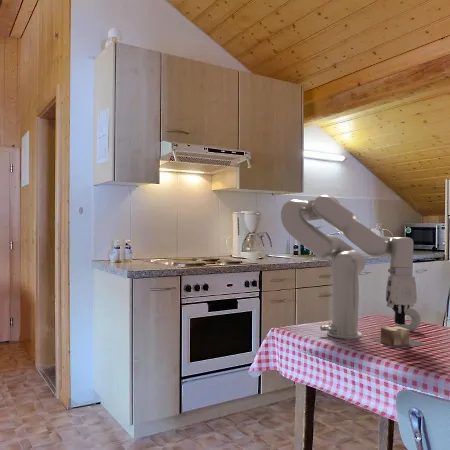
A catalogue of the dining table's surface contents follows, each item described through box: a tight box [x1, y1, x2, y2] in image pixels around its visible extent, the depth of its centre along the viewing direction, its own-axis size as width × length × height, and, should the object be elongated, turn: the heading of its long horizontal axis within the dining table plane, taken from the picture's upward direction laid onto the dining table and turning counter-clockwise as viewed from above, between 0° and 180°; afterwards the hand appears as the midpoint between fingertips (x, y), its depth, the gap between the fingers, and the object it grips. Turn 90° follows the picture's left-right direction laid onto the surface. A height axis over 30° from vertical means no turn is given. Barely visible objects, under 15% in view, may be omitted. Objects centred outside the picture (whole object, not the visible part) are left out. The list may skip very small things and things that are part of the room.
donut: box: [393, 307, 421, 333], centre depth 179 cm, size 10×3×10 cm, turn 73°
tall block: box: [380, 326, 410, 346], centre depth 159 cm, size 5×5×8 cm
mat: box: [372, 337, 427, 348], centre depth 161 cm, size 14×12×1 cm
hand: (399, 323), depth 160 cm, fingers closed
